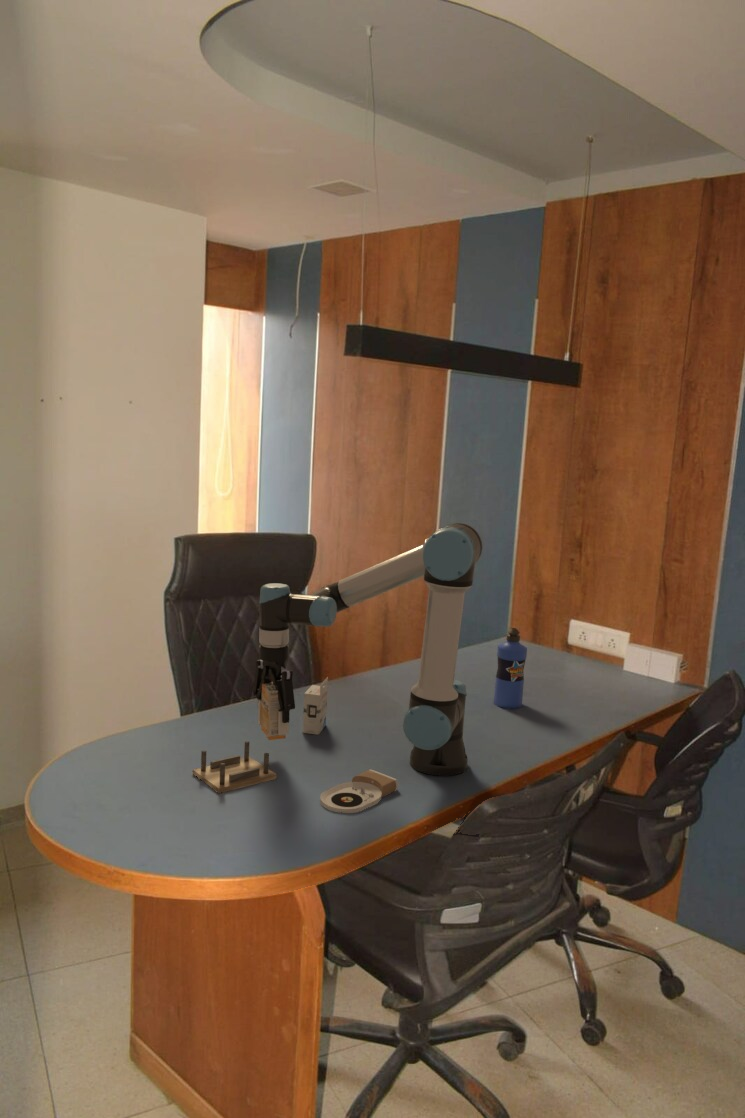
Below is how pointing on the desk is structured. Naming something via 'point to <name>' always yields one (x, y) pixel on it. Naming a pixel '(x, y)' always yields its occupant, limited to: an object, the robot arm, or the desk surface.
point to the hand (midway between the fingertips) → (273, 728)
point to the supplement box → (270, 712)
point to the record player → (358, 792)
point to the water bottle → (510, 672)
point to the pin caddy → (234, 771)
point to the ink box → (315, 708)
